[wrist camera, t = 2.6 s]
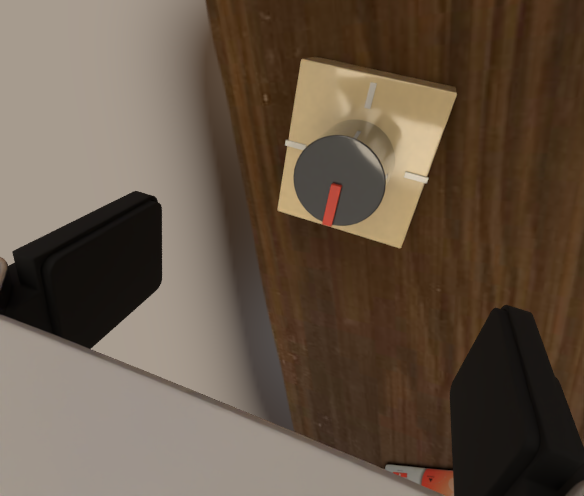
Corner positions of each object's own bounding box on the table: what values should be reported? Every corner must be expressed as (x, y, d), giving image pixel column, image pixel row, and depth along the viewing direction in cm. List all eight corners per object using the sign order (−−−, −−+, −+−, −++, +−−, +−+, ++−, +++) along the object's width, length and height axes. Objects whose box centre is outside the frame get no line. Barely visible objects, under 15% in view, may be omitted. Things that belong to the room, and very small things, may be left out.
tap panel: (313, 55, 25) (298, 58, 23) (458, 87, 23) (459, 93, 21) (289, 196, 31) (274, 211, 28) (406, 231, 29) (402, 250, 26)
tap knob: (324, 110, 24) (299, 125, 20) (406, 130, 23) (397, 151, 19) (309, 186, 26) (284, 213, 22) (381, 207, 25) (369, 239, 21)
